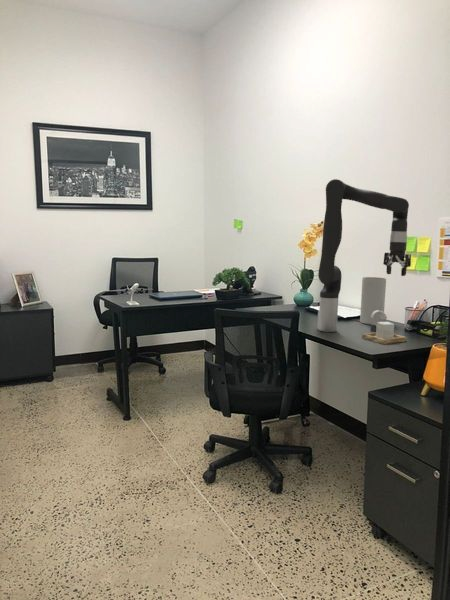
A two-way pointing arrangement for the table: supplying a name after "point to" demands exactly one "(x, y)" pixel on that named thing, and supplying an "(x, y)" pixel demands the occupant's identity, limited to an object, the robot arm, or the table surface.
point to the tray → (384, 341)
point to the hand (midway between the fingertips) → (395, 274)
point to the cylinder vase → (372, 298)
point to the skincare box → (384, 330)
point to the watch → (382, 316)
